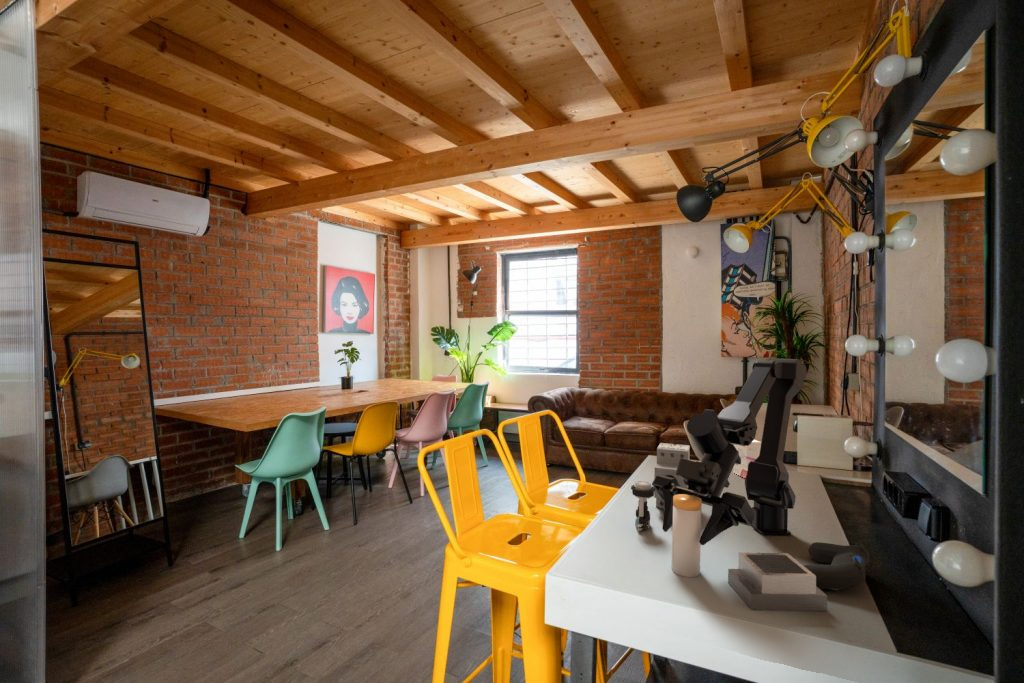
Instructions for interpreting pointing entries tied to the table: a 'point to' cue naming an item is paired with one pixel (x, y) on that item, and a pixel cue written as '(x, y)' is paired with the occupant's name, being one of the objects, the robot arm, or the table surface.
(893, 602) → the table surface
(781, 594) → the grey stepped open box
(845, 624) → the table surface
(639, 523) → the push button
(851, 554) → the gaming controller
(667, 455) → the circuit breaker
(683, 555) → the orange lidded white canister
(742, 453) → the ink cartridge box
